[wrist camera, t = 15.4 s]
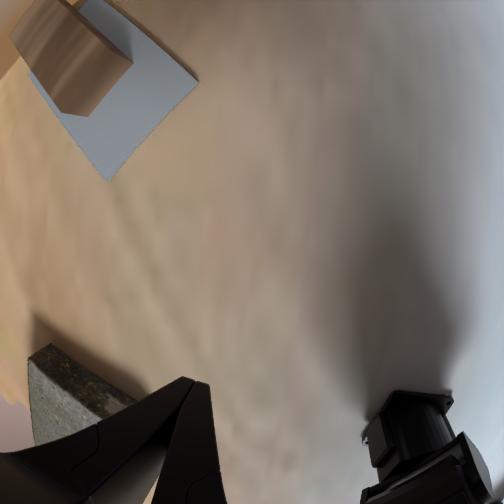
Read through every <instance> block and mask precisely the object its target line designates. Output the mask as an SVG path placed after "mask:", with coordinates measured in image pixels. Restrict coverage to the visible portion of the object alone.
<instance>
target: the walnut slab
mask: <svg viewBox="0 0 504 504" xmlns="http://www.w3.org/2000/svg"><path fill="white" fill-rule="evenodd" d="M9 38H10V39H11V41H12V42H13V44H14V45H15V47H16V48H17V50H18V52H19V53H20V55H21V56H22V58H23V59H24V61H25V62H26V64H27V65H28V67H29V68H30V69H31V71H32V72H33V74H34V75H35V77H36V78H37V80H38V81H39V82H40V84H41V85H42V87H43V88H44V90H45V91H46V92H47V94H48V95H49V97H50V98H51V99H52V101H53V102H54V104H55V105H56V106H57V108H58V109H59V110H60V112H61V113H65V114H71V115H77V116H83V117H89V116H90V114H91V113H92V112H93V110H94V109H95V108H96V107H97V105H98V104H99V103H100V102H101V100H102V99H103V98H104V97H105V96H106V94H107V93H108V92H109V91H110V90H111V88H112V87H113V86H114V85H115V84H116V83H117V81H118V80H119V79H120V78H121V77H122V76H123V75H124V74H125V72H126V71H127V70H128V69H129V68H130V67H131V66H132V65H133V64H134V63H133V62H132V61H131V60H130V59H129V58H128V57H127V56H126V55H125V54H124V53H122V52H121V51H120V50H119V49H118V48H117V47H116V46H115V45H114V44H113V43H112V42H111V41H110V40H109V39H108V38H107V37H106V36H105V35H103V34H102V33H101V32H100V31H99V30H98V29H97V28H96V27H95V26H94V25H93V24H92V23H90V22H89V21H88V20H87V19H86V18H85V17H84V16H83V15H82V14H81V13H79V12H78V11H77V10H76V9H75V8H74V7H73V6H72V5H70V4H69V3H68V2H67V1H66V0H35V1H34V2H33V3H32V4H31V6H30V7H29V8H28V10H27V11H26V12H25V13H24V15H23V16H22V18H21V19H20V20H19V22H18V23H17V24H16V26H15V27H14V29H13V30H12V32H11V33H10V35H9Z"/></svg>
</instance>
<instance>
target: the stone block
mask: <svg viewBox="0 0 504 504" xmlns="http://www.w3.org/2000/svg"><path fill="white" fill-rule="evenodd" d="M28 377H29V378H28V385H29V401H30V411H31V419H32V429H33V436H34V443H35V446H37V445H41V444H44V443H47V442H51V441H54V440H57V439H60V438H62V437H65V436H68V435H71V434H73V433H75V432H78V431H80V430H82V429H84V428H86V427H88V426H90V425H92V424H94V423H95V424H97V422H99V421H101V420H103V419H104V418H106V417H108V416H110V415H112V414H114V413H116V412H118V411H120V410H122V409H124V408H126V407H127V406H129V405H131V404H133V403H135V402H137V401H136V400H134V399H132V398H131V397H130V396H128V395H126V394H125V393H123V392H122V391H120V390H119V389H117V388H115V387H113V386H112V385H110V384H108V383H107V382H106V381H104V380H102V379H101V378H99V377H98V376H96V375H95V374H93V373H92V372H90V371H89V370H87V369H85V368H84V367H83V366H81V365H80V364H78V363H77V362H75V361H74V360H72V359H71V358H70V357H69V356H67V355H65V354H64V353H63V352H62V351H60V350H59V349H58V348H56V347H55V346H54V345H52V344H51V343H50V344H49V345H47V346H46V347H44V348H42V349H40V350H39V351H37V352H36V353H35V354H33V355H32V356H30V357H29V358H28Z"/></svg>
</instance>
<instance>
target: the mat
mask: <svg viewBox="0 0 504 504" xmlns="http://www.w3.org/2000/svg"><path fill="white" fill-rule="evenodd" d="M78 12H79V13H81V14H82V15H83V16H84V17H85V18H86V19H87V20H88V21H89V22H90V23H92V24H93V25H94V26H95V27H96V28H97V29H98V30H99V31H100V32H101V33H102V34H103V35H105V36H106V37H107V38H108V39H109V40H110V41H111V42H112V43H113V44H114V45H115V46H116V47H117V48H118V49H119V50H120V51H121V52H122V53H124V54H125V55H126V56H127V57H128V58H129V59H130V60H131V61H132V62H133V63H134V64H133V65H132V66H131V67H130V68H129V69H128V70H127V71H126V72H125V74H124V75H123V76H122V77H121V78H120V79H119V80H118V81H117V83H116V84H115V85H114V86H113V87H112V88H111V90H110V91H109V92H108V93H107V94H106V96H105V97H104V98H103V99H102V100H101V102H100V103H99V104H98V105H97V107H96V108H95V109H94V110H93V112H92V113H91V114H90V116H89V117H83V116H77V115H71V114H65V113H61V112H60V110H59V109H58V108H57V106H56V105H55V104H54V102H53V101H52V99H51V98H50V97H49V95H48V94H47V92H46V91H45V90H44V88H43V87H42V85H41V84H40V82H39V81H38V80H37V78H36V77H35V75H34V74H33V72H32V71H31V72H30V74H29V75H28V76H29V77H30V79H31V80H32V82H33V83H34V85H35V86H36V88H37V89H38V91H39V92H40V94H41V95H42V97H43V98H44V99H45V101H46V102H47V104H48V105H49V107H50V108H51V109H52V111H53V112H54V114H55V115H56V116H57V118H58V119H59V121H60V122H61V123H62V125H63V126H64V128H65V129H66V130H67V132H68V133H69V134H70V136H71V137H72V138H73V140H74V141H75V142H76V144H77V145H78V146H79V148H80V149H81V150H82V152H83V153H84V154H85V156H86V157H87V158H88V159H89V161H90V162H91V163H92V165H93V166H94V167H95V168H96V170H97V171H98V172H99V174H100V175H101V176H102V177H103V179H104V180H105V181H109V180H111V178H112V177H113V176H114V175H115V173H116V172H117V171H118V170H119V169H120V167H121V166H122V165H123V164H124V162H125V161H126V160H127V159H128V158H129V156H130V155H131V154H132V153H133V152H134V151H135V149H136V148H137V147H138V146H139V145H140V144H141V143H142V141H143V140H144V139H145V138H146V137H147V136H148V135H149V134H150V133H151V131H152V130H153V129H154V128H155V127H156V126H157V125H158V124H159V123H160V122H161V121H162V120H163V119H164V118H165V116H166V115H167V114H168V113H169V112H170V111H171V110H172V109H173V108H174V107H175V106H176V105H177V104H178V103H179V102H180V101H181V100H182V99H183V98H184V97H185V96H186V95H187V94H188V93H189V92H190V91H191V90H192V89H194V88H195V87H196V86H197V85H198V84H199V82H198V81H197V80H195V79H194V78H193V77H192V76H191V75H190V74H189V73H188V72H187V71H186V70H185V69H184V68H183V67H182V66H181V65H179V64H178V63H177V62H176V61H175V60H174V59H173V58H172V57H171V56H170V55H168V54H167V53H166V52H165V51H164V50H163V49H162V48H161V47H159V46H158V45H157V44H156V43H155V42H154V41H153V40H151V39H150V38H149V37H148V36H147V35H146V34H144V33H143V32H142V31H141V30H140V29H139V28H137V27H136V26H135V25H134V24H133V23H131V22H130V21H129V20H128V19H127V18H125V17H124V16H123V15H122V14H120V13H119V12H118V11H117V10H115V9H114V8H113V7H112V6H110V5H109V4H108V3H107V2H105V1H104V0H87V1H86V2H85V3H84V4H83V6H82V7H81V8H80V9H79V10H78Z"/></svg>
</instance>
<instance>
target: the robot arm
mask: <svg viewBox="0 0 504 504" xmlns="http://www.w3.org/2000/svg"><path fill="white" fill-rule="evenodd" d="M396 396H398V397H396ZM448 401H449V402H448ZM453 402H454V400H453V398H452V396H445V395H434V394H424V393H415V392H406V391H394V392H392V393H391V395H390V396H389V398H388V400H387V401H386V403H385V405H384V406H383V408H382V410H381V411H380V412H379V413H378V414H377V416H376V417H375V419H374V421H373V422H372V424H371V425H370V427H369V428H368V430H367V431H366V434H365V436H364V437H363V439H362V444H363V446H368V447H369V453H370V459H371V465H372V467H373V468H377V473H378V479H379V483H378V484H376V485H374V486H372V487H368V488H365V489H363V490H362V494H361V500H360V504H488V503H487V502H488V501H490V500H491V499H493V498H494V495H493V489H492V484H491V479H490V474H489V470H488V468H487V466H486V464H485V462H484V460H483V458H482V456H481V454H480V452H479V450H478V449H477V448H476V447H475V445H474V444H473V443H472V441H471V440H470V439H469V438H468V436H467V435H466V434H465V433H464V431H462V432H461V433H460V434H458V435H457V437H456V436H455V434H454V432H453V430H452V428H451V425H450V423H449V421H448V419H447V417H446V415H445V414H446V413H447V412H448V410H449V409H450V407H451V406H452V404H453ZM159 474H160V475H159ZM158 476H159V479H158V482H157V485H156V489H155V492H154V496H153V499H152V502H151V504H227V501H226V497H225V493H224V488H223V483H222V477H221V472H220V464H219V457H218V450H217V442H216V435H215V427H214V419H213V410H212V402H211V393H210V386H209V384H206V383H203V382H200V381H196V382H195V380H193V379H190V378H187V377H184V376H182V377H180V378H178V379H176V380H174V381H173V382H171V383H169V384H167V385H166V386H164V387H162V388H160V389H159V390H157V391H155V392H153V393H151V394H150V395H148V396H146V397H144V398H142V399H140V400H139V401H137V402H135V403H133V404H131V405H129V406H127V407H126V408H124V409H122V410H120V411H118V412H116V413H114V414H112V415H110V416H108V417H106V418H104V419H103V420H101V421H99V422H97V424H95V423H94V424H92V425H90V426H88V427H86V428H84V429H82V430H80V431H78V432H75V433H73V434H71V435H68V436H65V437H62V438H60V439H57V440H54V441H51V442H47V443H44V444H41V445H37V446H34V447H31V448H27V449H23V450H20V451H15V452H7V453H1V452H0V504H143V502H144V500H145V498H146V497H147V495H148V493H149V492H150V490H151V488H152V486H153V485H154V483H155V481H156V479H157V478H158Z"/></svg>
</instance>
